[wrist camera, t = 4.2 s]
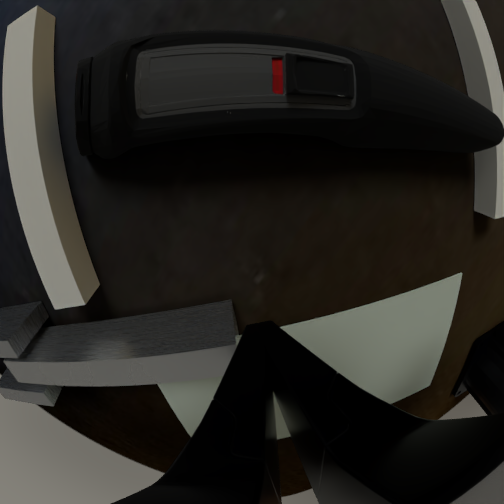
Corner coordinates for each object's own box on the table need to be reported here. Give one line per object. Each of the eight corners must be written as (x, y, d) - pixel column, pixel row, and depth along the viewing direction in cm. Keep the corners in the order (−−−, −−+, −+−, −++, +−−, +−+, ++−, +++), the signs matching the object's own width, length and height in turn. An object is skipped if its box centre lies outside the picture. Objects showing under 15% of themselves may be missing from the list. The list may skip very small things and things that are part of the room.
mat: (428, 384, 15) (429, 385, 15) (200, 448, 14) (199, 450, 14) (461, 272, 11) (462, 273, 11) (140, 349, 11) (140, 351, 10)
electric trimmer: (457, 168, 10) (506, 180, 7) (88, 162, 8) (39, 172, 5) (456, 93, 9) (505, 92, 6) (89, 64, 7) (46, 39, 4)
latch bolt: (237, 325, 10) (243, 372, 8) (39, 348, 10) (18, 382, 7) (231, 299, 10) (235, 343, 7) (27, 328, 9) (3, 361, 7)
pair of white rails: (488, 207, 10) (508, 215, 9) (71, 290, 9) (54, 309, 8) (458, 7, 6) (475, 1, 5) (27, 34, 5) (7, 25, 4)
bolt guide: (74, 362, 11) (53, 406, 8) (26, 362, 10) (4, 398, 8) (41, 301, 9) (7, 340, 6) (-5, 308, 9) (-35, 341, 6)
